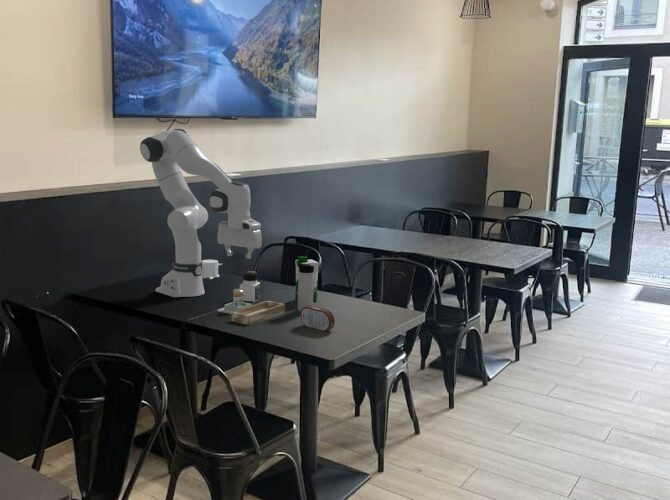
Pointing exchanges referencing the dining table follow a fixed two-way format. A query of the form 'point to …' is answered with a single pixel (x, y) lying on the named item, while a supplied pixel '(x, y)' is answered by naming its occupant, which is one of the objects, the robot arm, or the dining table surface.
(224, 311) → the checker cradle
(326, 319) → the tin
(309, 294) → the travel mug
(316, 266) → the milk carton
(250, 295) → the medicine bottle
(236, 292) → the cell
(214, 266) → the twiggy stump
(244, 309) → the trough
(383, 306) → the dining table surface
